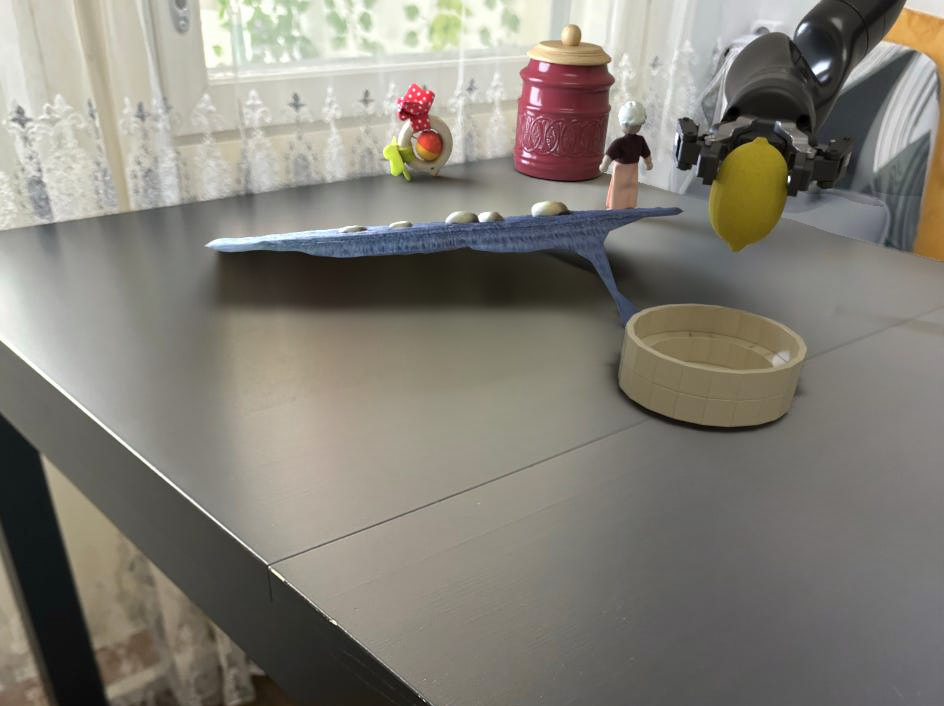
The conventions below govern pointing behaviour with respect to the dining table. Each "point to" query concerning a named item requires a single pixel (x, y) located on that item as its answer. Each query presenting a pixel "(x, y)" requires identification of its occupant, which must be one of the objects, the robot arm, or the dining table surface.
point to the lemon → (748, 194)
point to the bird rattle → (419, 136)
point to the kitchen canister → (563, 109)
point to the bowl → (710, 364)
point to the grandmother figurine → (627, 158)
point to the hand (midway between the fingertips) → (751, 175)
